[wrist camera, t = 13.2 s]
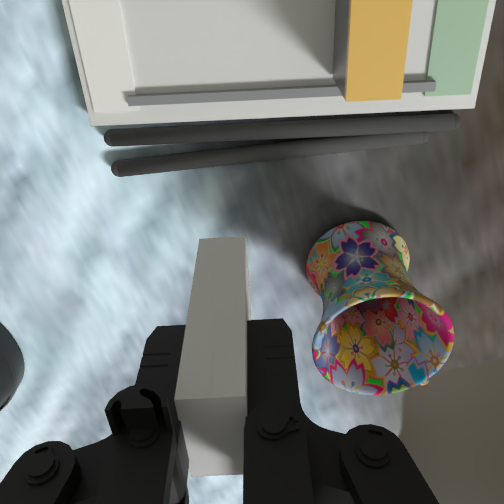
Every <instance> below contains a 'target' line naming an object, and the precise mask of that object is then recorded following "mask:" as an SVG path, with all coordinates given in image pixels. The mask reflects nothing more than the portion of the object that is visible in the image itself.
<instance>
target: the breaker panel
mask: <svg viewBox="0 0 504 504" xmlns="http://www.w3.org/2000/svg"><path fill="white" fill-rule="evenodd" d="M335 1H336V0H62V4H63V8H64V13H65V17H66V21H67V25H68V30H69V34H70V38H71V42H72V47H73V51H74V55H75V59H76V64H77V68H78V72H79V76H80V80H81V85H82V89H83V93H84V97H85V102H86V106H87V110H88V114H89V119H90V123H91V126H106V125H128V124H149V123H170V122H192V121H213V120H234V119H256V118H277V117H298V116H320V115H341V114H362V113H383V112H405V111H426V110H447V109H469V108H475V103H476V98H477V93H478V88H479V83H480V78H481V73H482V68H483V63H484V58H485V53H486V48H487V43H488V38H489V33H490V28H491V23H492V18H493V13H494V8H495V3H496V0H413V2H412V11H411V19H410V28H409V37H408V45H407V54H406V62H405V71H404V80H403V88H402V97H401V99H395V100H374V101H353V102H346V101H345V99H344V97H343V96H342V94H341V92H340V90H339V88H338V86H337V85H336V83H335V81H334V79H333V53H334V27H335Z"/></svg>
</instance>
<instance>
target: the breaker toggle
mask: <svg viewBox="0 0 504 504" xmlns="http://www.w3.org/2000/svg"><path fill="white" fill-rule="evenodd" d="M412 2H413V0H336V1H335V27H334V53H333V79H334V81H335V83H336V85H337V86H338V88H339V90H340V92H341V94H342V96H343V97H344V99H345V101H346V102H353V101H374V100H395V99H401V97H402V88H403V80H404V71H405V62H406V54H407V45H408V37H409V28H410V19H411V11H412Z"/></svg>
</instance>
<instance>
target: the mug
mask: <svg viewBox="0 0 504 504" xmlns="http://www.w3.org/2000/svg"><path fill="white" fill-rule="evenodd" d="M409 260H410V258H409V251H408V248H407V245H406V243H405V241H404V240H403V238H402V237H401V236H400V235H399V234H398V233H397V232H396V231H394V230H393V229H391V228H390V227H388V226H386V225H384V224H381V223H377V222H372V221H354V222H349V223H345V224H342V225H339V226H337V227H335V228H333V229H331V230H329V231H328V232H326V233H325V234H324V235H323V236H321V237H320V238H319V239H318V240H317V242H316V243H315V244H314V246H313V247H312V249H311V251H310V253H309V256H308V259H307V264H306V273H307V278H308V280H309V283H310V285H311V286H312V288H313V289H314V291H315V292H316V293H317V294H318V295H319V296H321V298H322V301H323V315H322V319H321V322H320V324H319V326H318V328H317V330H316V332H315V335H314V338H313V342H312V355H313V360H314V363H315V365H316V367H317V369H318V370H319V372H320V373H321V374H322V375H323V377H324V378H325V379H327V380H328V381H329V382H330V383H332V384H333V385H335V386H337V387H339V388H341V389H343V390H346V391H349V392H353V393H358V394H365V395H383V394H391V393H396V392H400V391H403V390H406V389H409V388H412V387H414V386H416V385H418V384H420V385H425V384H427V383H428V382H429V381H430V377H431V376H432V375H434V374H435V373H436V372H437V371H438V370H439V369H440V368H441V367H442V366H443V364H444V363H445V362H446V360H447V359H448V357H449V355H450V353H451V350H452V347H453V343H454V330H453V325H452V323H451V320H450V318H449V316H448V315H447V313H446V312H445V311H444V310H443V309H442V307H440V306H439V305H438V304H437V303H436V302H434V301H433V300H431V299H429V298H428V297H426V296H424V295H422V294H421V293H420V292H419V291H417V290H416V288H415V287H414V286H413V285H412V283H411V282H410V280H409V278H408V275H407V272H408V268H409Z"/></svg>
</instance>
